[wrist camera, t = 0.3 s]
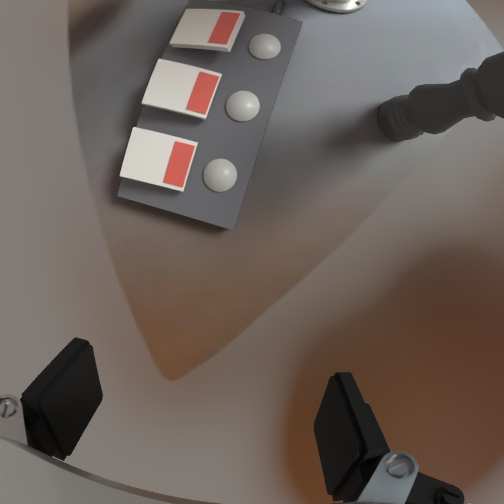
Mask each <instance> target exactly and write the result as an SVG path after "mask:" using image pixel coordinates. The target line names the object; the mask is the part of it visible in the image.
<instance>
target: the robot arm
mask: <svg viewBox="0 0 504 504" xmlns="http://www.w3.org/2000/svg"><path fill="white" fill-rule="evenodd" d="M306 1H307V2H309V3H310V4H312V5H314V6H316V7H319V8H321V9H324V10H328V11H332V12H338V13H349V12H354V11H357V10H360V9H361V8H363V7H364V6H365V5H366V3H367V2H368V0H306ZM102 397H103V393H102V389H101V385H100V381H99V376H98V372H97V367H96V362H95V357H94V352H93V347H92V345H90V344H89V342H88V341H87V340H84V339H80V338H74V339H73V340H72V341H71V342H70V343H69V344H68V345H67V346H66V347H65V348H64V349H63V350H62V351H61V352H60V353H59V354H58V355H57V356H56V357H55V358H54V359H53V360H52V361H51V363H50V364H49V365H48V366H47V367H46V368H45V369H44V370H43V371H42V372H41V373H40V374H39V375H38V377H37V378H36V379H35V380H34V381H33V382H32V383H31V384H30V386H29V387H28V388H27V389H26V390H25V391H24V392H23V393H22V398H21V399H20V400H19V399H18V398H17V397H16V396H14V395H11V394H4V395H0V504H220V503H212V502H204V501H197V500H190V499H184V498H179V497H173V496H168V495H164V494H159V493H154V492H150V491H146V490H142V489H138V488H135V487H131V486H127V485H124V484H121V483H117V482H115V481H111V480H108V479H105V478H102V477H100V476H97V475H94V474H91V473H88V472H86V471H83V470H81V469H78V468H76V467H74V466H71V465H69V464H66V463H64V462H62V461H59V460H57V459H55V458H53V457H52V456H54V457H56V458H58V459H61V460H63V461H64V460H65V458H66V456H70V455H71V454H72V452H73V450H74V448H75V446H76V444H77V442H78V441H79V439H80V437H81V436H82V434H83V432H84V430H85V428H86V427H87V425H88V423H89V422H90V420H91V418H92V417H93V415H94V413H95V411H96V409H97V408H98V406H99V405H100V403H101V401H102ZM314 433H315V437H316V442H317V447H318V451H319V456H320V460H321V465H322V470H323V475H324V479H325V484H326V489H327V493H328V494H329V495H332V497H333V501H339V500H343V502H344V503H333V504H466V503H464V495H463V493H462V491H461V490H460V489H459V488H457V487H455V486H454V485H451V484H448V483H445V482H443V481H440V480H437V479H435V478H432V477H430V476H427V475H424V474H422V473H420V472H418V468H419V467H418V463H417V461H416V459H415V458H414V457H413V456H412V455H410V454H408V453H406V452H402V451H393V452H390V449H389V447H388V445H387V443H386V440H385V438H384V436H383V433H382V431H381V429H380V427H379V425H378V423H377V420H376V418H375V416H374V414H373V412H372V410H371V407H370V406H369V404H367V403H365V402H364V400H363V397H362V395H361V393H360V391H359V389H358V386H357V384H356V382H355V380H354V378H353V376H352V374H351V373H350V372H337V373H335V375H334V376H331V377H330V379H329V382H328V385H327V388H326V391H325V394H324V396H323V399H322V402H321V405H320V408H319V411H318V413H317V416H316V419H315V422H314ZM468 504H471V503H470V502H469V503H468Z"/></svg>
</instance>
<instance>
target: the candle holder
mask: <svg viewBox="0 0 504 504" xmlns="http://www.w3.org/2000/svg"><path fill="white" fill-rule="evenodd" d="M377 116H378V123H379V126H380V128H381V130H382V131H383V133H384V134H385V135H386V136H387V137H389V138H391V139H392V140H396V141H403V140H408V139H413V138H416V137H418V136H419V135H421V134H423V133H424V132H426V133H431V134H438V133H442V132H444V131H446V130H447V129H449V128H450V127H452V126H453V125H455V124H456V123H458V122H459V121H461V120H462V119H464V118H467V117H473V116H476V117H477V118H478V119H481V120H483V121H491V120H494V119H495V117H496V116H500V117H501V118H504V52H501V53H498V54H496V55H493V56H491V57H488V58H486V59H485V60H484V61H483V62H482V64H481V65H480V67H479V68H478V69H475V68H468V69H466V70H465V71H464V72H463V73H462V74H461V77H460V80H457V81H455V82H452V83H449V84H424V85H419V86H416V87H415V88H414V89H413V90H412V91H411V92H410V93H409V95H404V96H397V97H394V98H392V99H390V100H388V101H386V102H384V103H383V104H382V105H381V106H380V108H379V110H378V113H377Z"/></svg>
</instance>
